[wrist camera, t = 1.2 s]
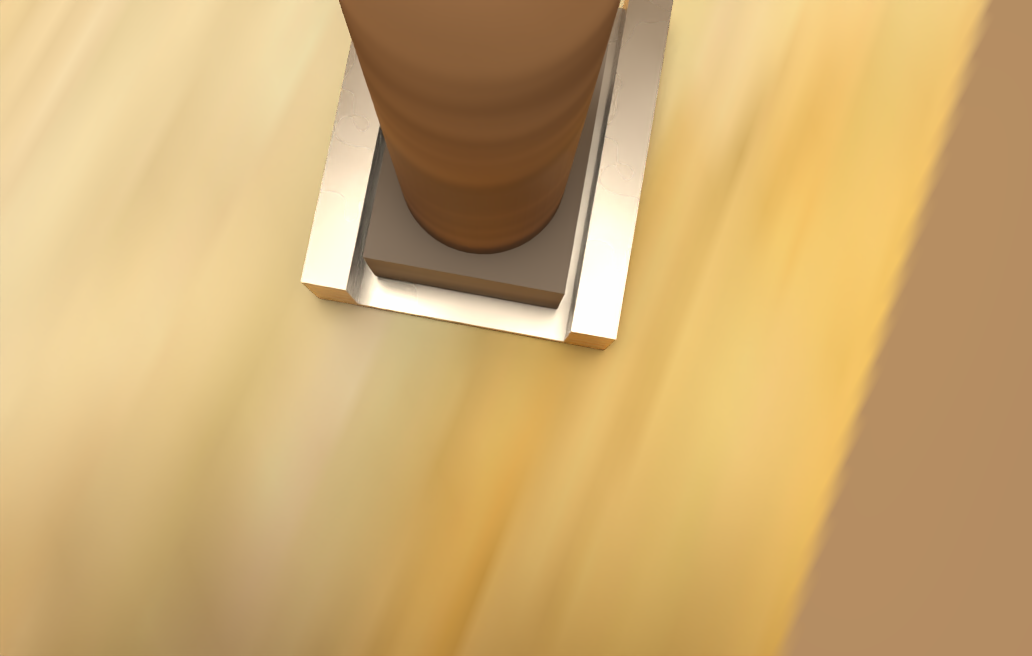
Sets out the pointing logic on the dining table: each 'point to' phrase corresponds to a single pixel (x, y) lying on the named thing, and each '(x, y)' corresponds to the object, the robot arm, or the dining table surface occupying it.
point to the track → (601, 218)
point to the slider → (481, 138)
